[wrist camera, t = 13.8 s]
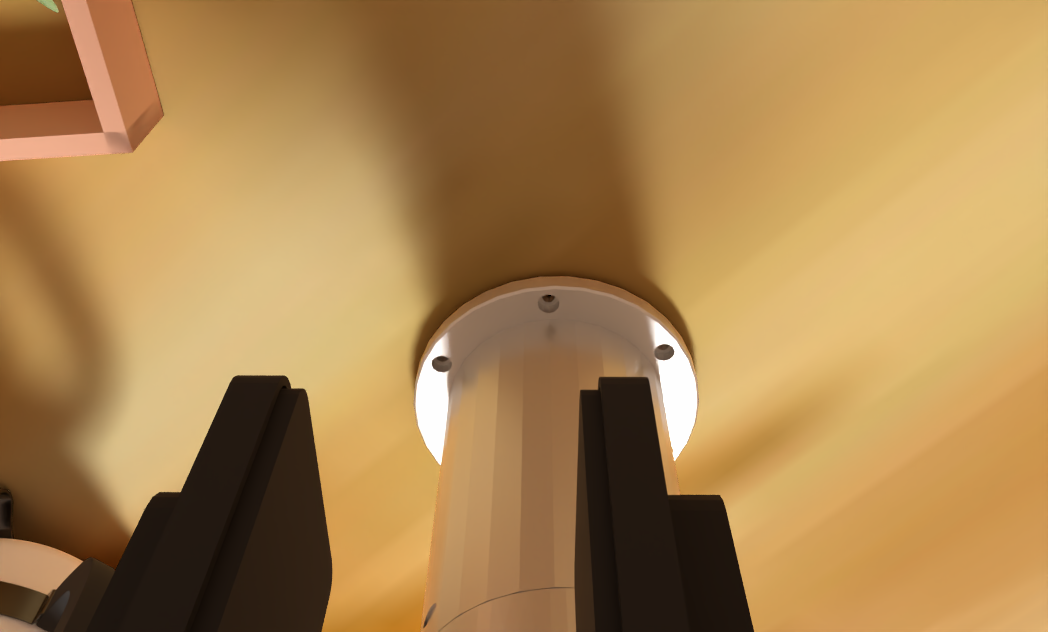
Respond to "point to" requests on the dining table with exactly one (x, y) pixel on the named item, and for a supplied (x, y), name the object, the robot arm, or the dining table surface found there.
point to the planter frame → (115, 85)
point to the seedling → (49, 4)
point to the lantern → (45, 583)
